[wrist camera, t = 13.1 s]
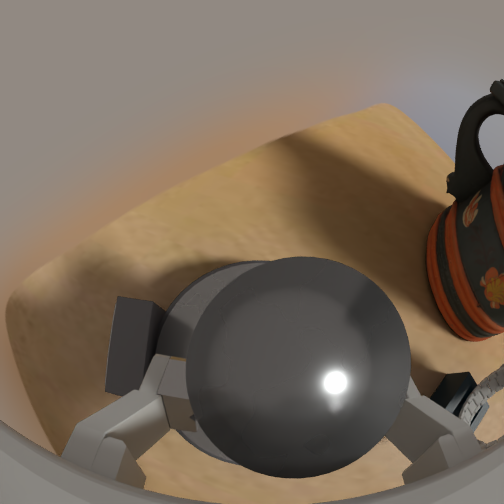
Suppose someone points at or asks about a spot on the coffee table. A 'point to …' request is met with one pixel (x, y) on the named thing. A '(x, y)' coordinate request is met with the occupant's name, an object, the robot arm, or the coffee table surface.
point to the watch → (469, 397)
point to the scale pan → (184, 323)
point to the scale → (141, 343)
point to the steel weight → (298, 367)
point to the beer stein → (471, 234)
